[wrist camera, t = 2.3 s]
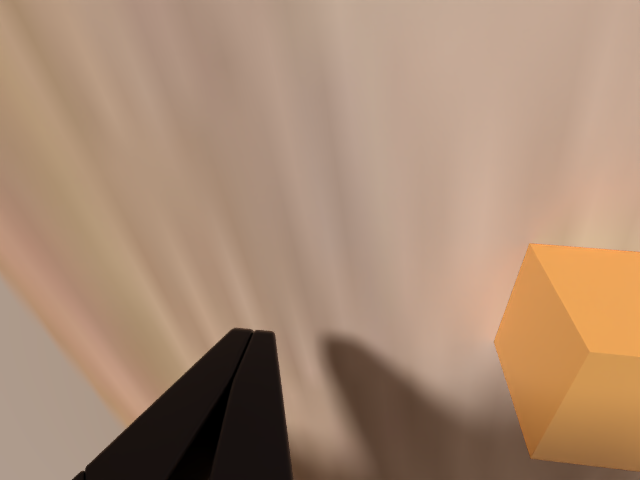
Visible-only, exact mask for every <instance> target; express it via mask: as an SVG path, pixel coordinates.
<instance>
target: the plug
mask: <svg viewBox="0 0 640 480" xmlns="http://www.w3.org/2000/svg"><path fill="white" fill-rule="evenodd" d="M494 344H495V347H496V350H497V353H498V357H499V360H500V363H501V366H502V369H503V373H504V376H505V379H506V382H507V385H508V388H509V392H510V395H511V398H512V401H513V404H514V408H515V411H516V414H517V417H518V420H519V423H520V427H521V430H522V433H523V436H524V439H525V443H526V446H527V449H528V452H529V455H530V459H537V460H546V461H554V462H562V463H571V464H579V465H587V466H596V467H604V468H612V469H621V470H629V471H637V472H640V252H632V251H619V250H607V249H594V248H581V247H568V246H555V245H543V244H529V246H528V249H527V252H526V255H525V257H524V260H523V263H522V266H521V268H520V271H519V274H518V277H517V279H516V282H515V285H514V288H513V291H512V293H511V296H510V299H509V302H508V304H507V307H506V310H505V313H504V315H503V318H502V321H501V324H500V326H499V329H498V332H497V335H496V338H495V340H494Z"/></svg>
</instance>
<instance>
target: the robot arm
mask: <svg viewBox="0 0 640 480" xmlns="http://www.w3.org/2000/svg"><path fill="white" fill-rule="evenodd" d="M72 480H293V473H292V465H291V457H290V449H289V442H288V434H287V426H286V418H285V410H284V402H283V394H282V386H281V378H280V370H279V362H278V354H277V346H276V338H275V333H274V332H272V331H264V330H256V331H253V330H251V329H244V328H234V329H232V330H230V331H229V332H228V333H227V334H226V335H225V336H224V337H223V338H222V339H221V340H220V341H219V342H218V343H217V344H216V345H214V346H213V347H212V348H211V349H210V350H209V351H208V352H207V353H206V354H205V355H204V356H203V357H202V358H201V359H200V360H199V361H198V362H196V363H195V364H194V365H193V366H192V367H191V368H190V369H189V370H188V371H187V372H186V373H185V374H184V375H183V376H182V377H181V378H180V379H178V380H177V381H176V382H175V383H174V384H173V385H172V386H171V387H170V388H169V389H168V390H167V391H166V392H165V393H164V394H163V395H161V396H160V397H159V398H158V399H157V400H156V401H155V402H154V403H153V404H152V405H151V406H150V407H149V408H148V409H147V410H146V411H145V412H143V413H142V414H141V415H140V416H139V417H138V418H137V419H136V420H135V421H134V422H133V423H132V424H131V425H130V426H129V427H128V428H127V429H125V430H124V431H123V432H122V433H121V434H120V435H119V436H118V437H117V438H116V439H115V440H114V441H113V442H112V443H111V444H110V445H109V446H108V447H106V448H105V449H104V450H103V451H102V452H101V453H100V454H99V455H98V456H97V457H96V458H95V459H94V460H93V461H92V462H91V463H89V464H88V465H87V466H86V468H85V471H81V472H80V473H79V474H78V475H76V477H74V479H72Z"/></svg>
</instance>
